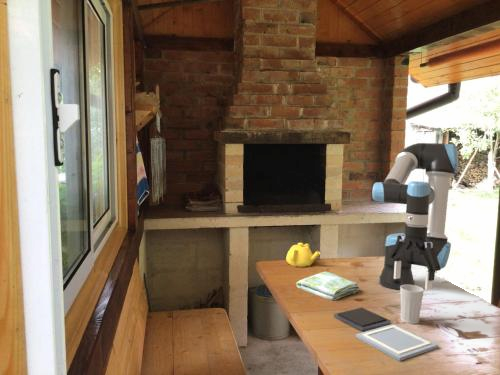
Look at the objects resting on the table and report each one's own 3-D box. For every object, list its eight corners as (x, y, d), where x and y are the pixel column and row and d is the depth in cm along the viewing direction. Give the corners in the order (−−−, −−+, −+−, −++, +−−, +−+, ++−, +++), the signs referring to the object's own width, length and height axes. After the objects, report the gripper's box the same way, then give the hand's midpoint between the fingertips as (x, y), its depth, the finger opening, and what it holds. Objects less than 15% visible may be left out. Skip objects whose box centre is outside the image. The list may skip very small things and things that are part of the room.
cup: (421, 317, 165) (423, 286, 163) (421, 326, 157) (424, 293, 156) (398, 314, 167) (400, 283, 166) (398, 322, 160) (400, 290, 159)
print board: (355, 337, 147) (355, 333, 147) (393, 326, 156) (393, 322, 156) (399, 361, 132) (399, 356, 132) (438, 347, 141) (438, 343, 141)
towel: (333, 302, 179) (334, 290, 178) (295, 288, 195) (295, 277, 194) (360, 293, 191) (361, 281, 190) (322, 280, 207) (322, 269, 206)
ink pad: (333, 317, 163) (334, 313, 163) (361, 310, 170) (361, 306, 170) (361, 331, 151) (362, 327, 151) (390, 323, 159) (390, 319, 158)
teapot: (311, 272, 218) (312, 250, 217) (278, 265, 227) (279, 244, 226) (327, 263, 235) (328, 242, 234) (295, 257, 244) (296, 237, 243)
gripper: (381, 220, 167) (378, 275, 169) (440, 232, 146) (435, 295, 148) (395, 218, 171) (391, 273, 173) (454, 230, 150) (449, 292, 152)
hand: (412, 283), depth 161 cm, fingers open, 13 cm apart
